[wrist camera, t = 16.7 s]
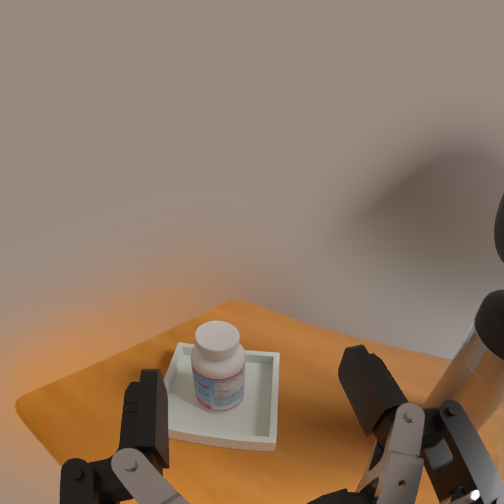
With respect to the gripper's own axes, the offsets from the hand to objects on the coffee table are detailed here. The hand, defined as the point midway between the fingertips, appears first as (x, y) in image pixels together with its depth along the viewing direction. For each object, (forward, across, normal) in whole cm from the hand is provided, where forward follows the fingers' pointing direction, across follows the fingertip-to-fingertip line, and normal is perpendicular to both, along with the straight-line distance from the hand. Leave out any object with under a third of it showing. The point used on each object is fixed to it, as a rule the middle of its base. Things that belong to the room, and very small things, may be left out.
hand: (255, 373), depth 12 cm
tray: (+14, +1, +23) cm, 27 cm away
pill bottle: (+14, +1, +23) cm, 27 cm away
